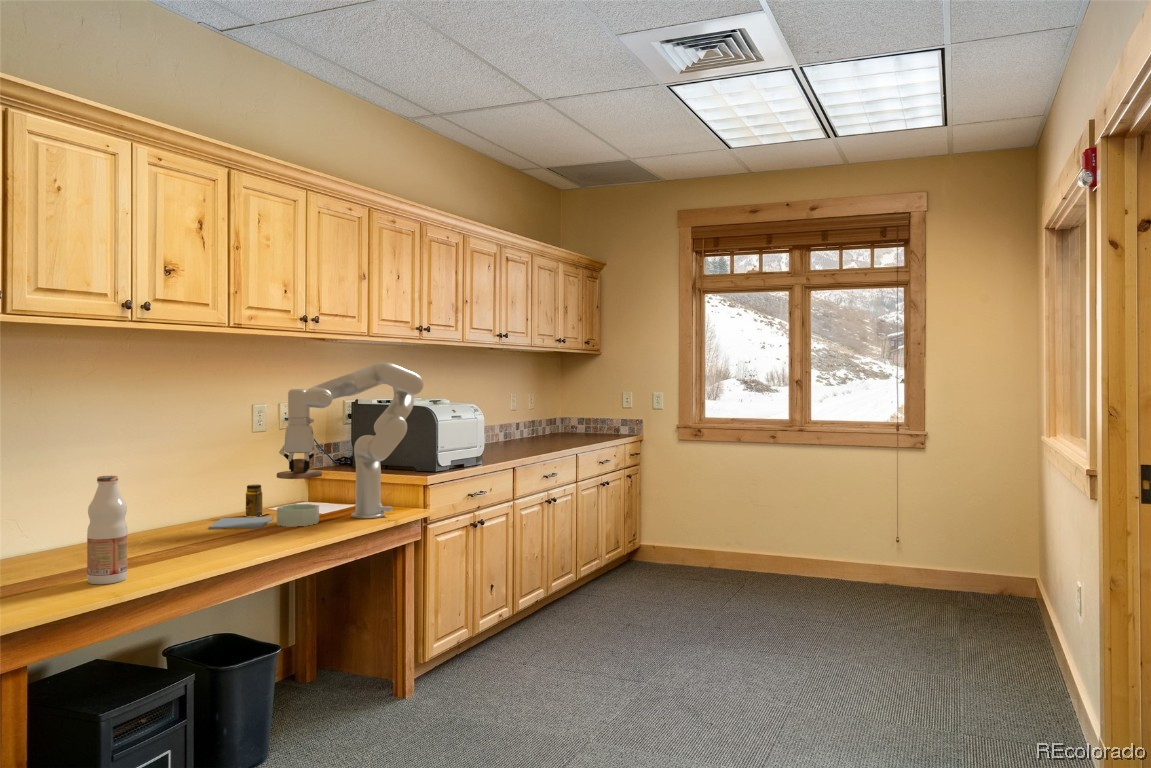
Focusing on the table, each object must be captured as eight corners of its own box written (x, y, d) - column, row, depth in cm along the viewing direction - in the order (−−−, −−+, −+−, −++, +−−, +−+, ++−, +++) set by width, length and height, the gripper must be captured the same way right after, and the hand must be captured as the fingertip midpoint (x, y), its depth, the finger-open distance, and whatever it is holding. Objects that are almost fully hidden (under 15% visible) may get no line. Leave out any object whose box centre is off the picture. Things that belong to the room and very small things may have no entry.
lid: (325, 472, 317) (324, 456, 317) (318, 478, 301) (318, 461, 301) (281, 473, 315) (281, 457, 315) (272, 479, 299) (272, 462, 299)
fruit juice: (91, 587, 216) (92, 479, 216) (83, 580, 223) (83, 476, 223) (131, 581, 223) (132, 476, 222) (121, 574, 230) (122, 473, 229)
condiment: (240, 516, 320) (240, 485, 320) (256, 513, 328) (256, 483, 328) (255, 518, 318) (256, 486, 318) (271, 514, 326) (271, 484, 326)
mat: (272, 519, 315) (272, 517, 315) (261, 528, 298) (261, 526, 298) (222, 520, 313) (222, 517, 313) (208, 529, 295) (208, 526, 295)
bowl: (320, 519, 316) (320, 503, 316) (314, 526, 302) (314, 509, 302) (282, 520, 314) (282, 504, 314) (274, 527, 300) (274, 510, 300)
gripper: (324, 421, 312) (324, 469, 313) (277, 421, 310) (277, 470, 310) (320, 422, 305) (321, 472, 306) (273, 423, 303) (273, 473, 303)
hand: (299, 470), depth 308 cm, fingers closed on lid, 4 cm apart
